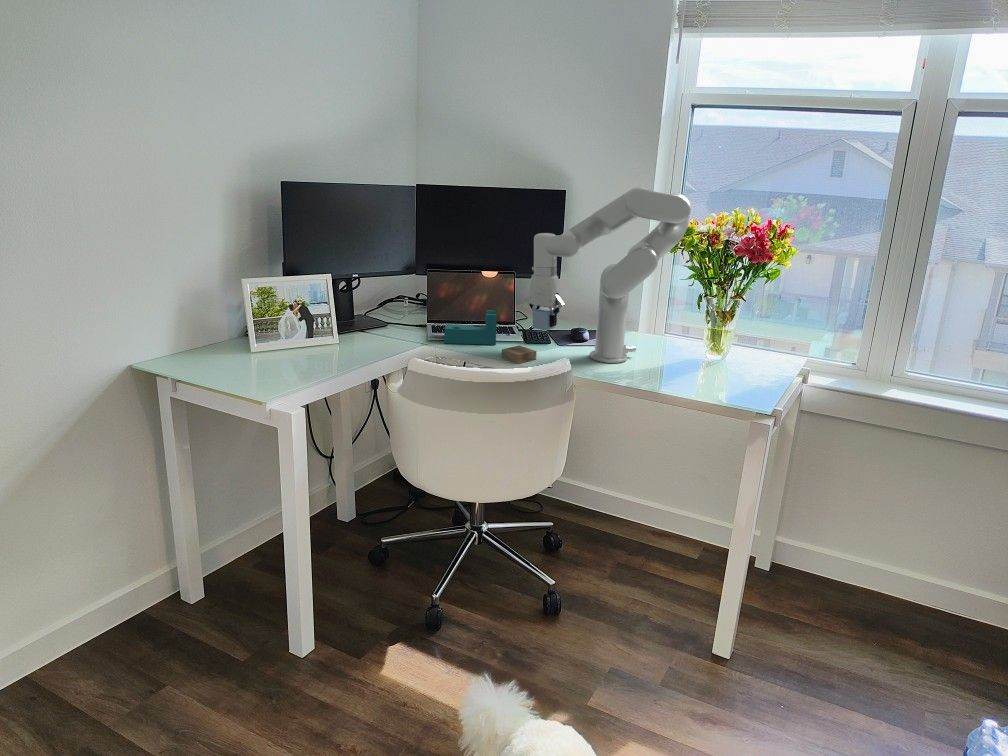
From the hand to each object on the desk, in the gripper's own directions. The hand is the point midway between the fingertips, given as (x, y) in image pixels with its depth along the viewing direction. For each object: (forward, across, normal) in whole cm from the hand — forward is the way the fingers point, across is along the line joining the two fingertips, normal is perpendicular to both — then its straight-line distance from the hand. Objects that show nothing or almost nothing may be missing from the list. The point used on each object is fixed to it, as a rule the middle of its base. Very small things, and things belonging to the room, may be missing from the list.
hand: (545, 324), depth 247 cm
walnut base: (+10, -2, -12) cm, 16 cm away
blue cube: (+1, 0, 0) cm, 1 cm away
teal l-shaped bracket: (+9, -27, -8) cm, 30 cm away
